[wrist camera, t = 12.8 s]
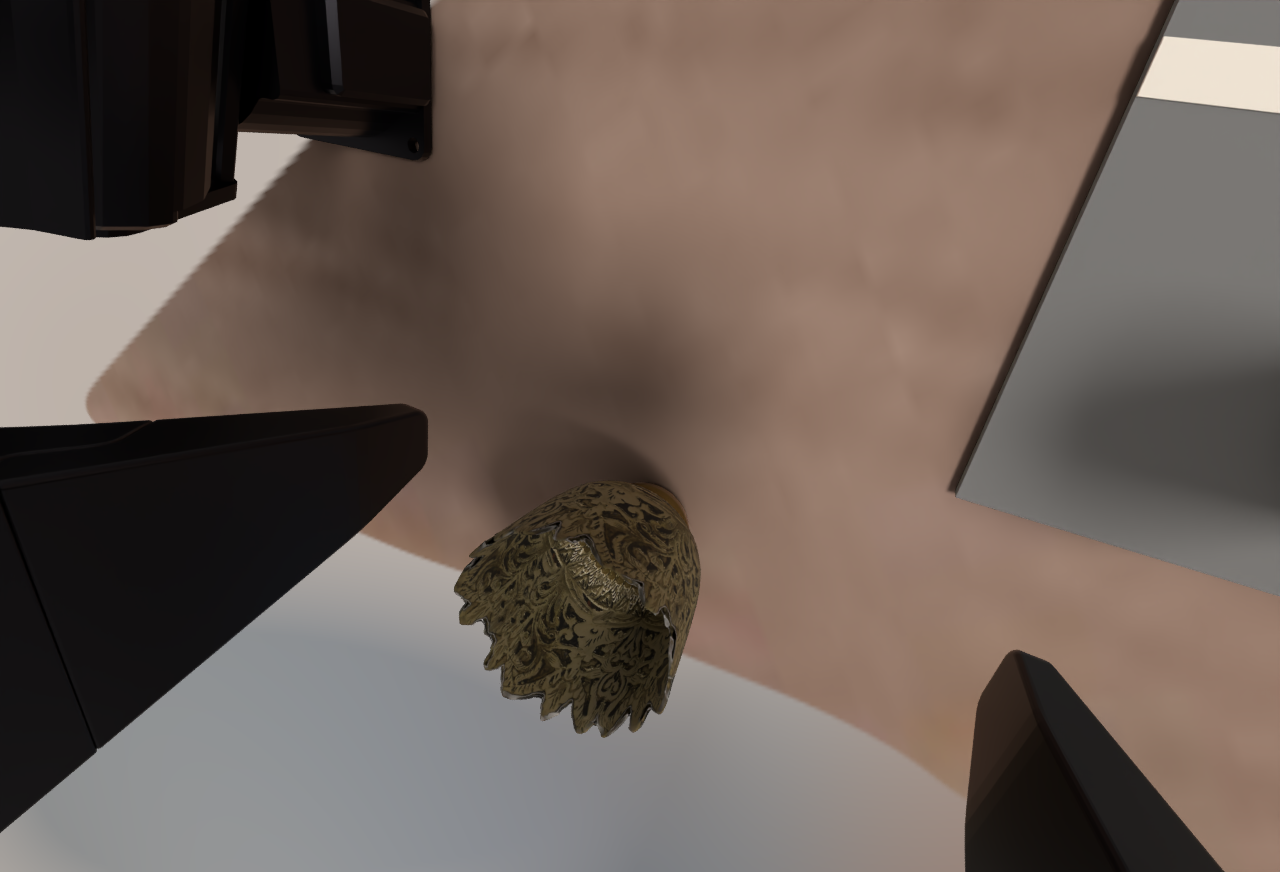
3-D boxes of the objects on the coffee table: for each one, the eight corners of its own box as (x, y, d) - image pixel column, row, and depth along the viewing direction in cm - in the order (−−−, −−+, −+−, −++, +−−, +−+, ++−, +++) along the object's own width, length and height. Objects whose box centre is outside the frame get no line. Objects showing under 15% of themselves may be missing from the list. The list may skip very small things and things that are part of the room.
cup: (549, 445, 26) (418, 544, 19) (710, 416, 23) (620, 525, 16) (605, 594, 28) (504, 731, 21) (760, 589, 25) (699, 750, 18)
